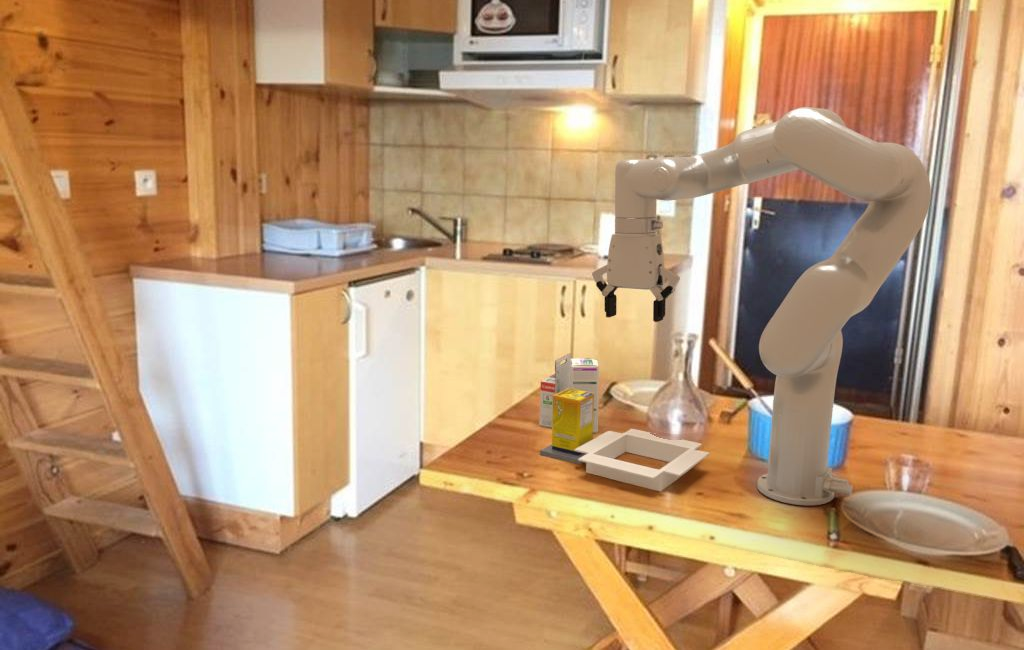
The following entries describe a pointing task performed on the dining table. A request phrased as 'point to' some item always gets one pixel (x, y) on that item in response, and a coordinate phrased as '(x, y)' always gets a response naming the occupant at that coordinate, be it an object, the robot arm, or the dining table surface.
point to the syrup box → (586, 381)
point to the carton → (644, 444)
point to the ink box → (553, 389)
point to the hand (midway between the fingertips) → (634, 318)
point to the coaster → (561, 455)
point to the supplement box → (572, 420)
